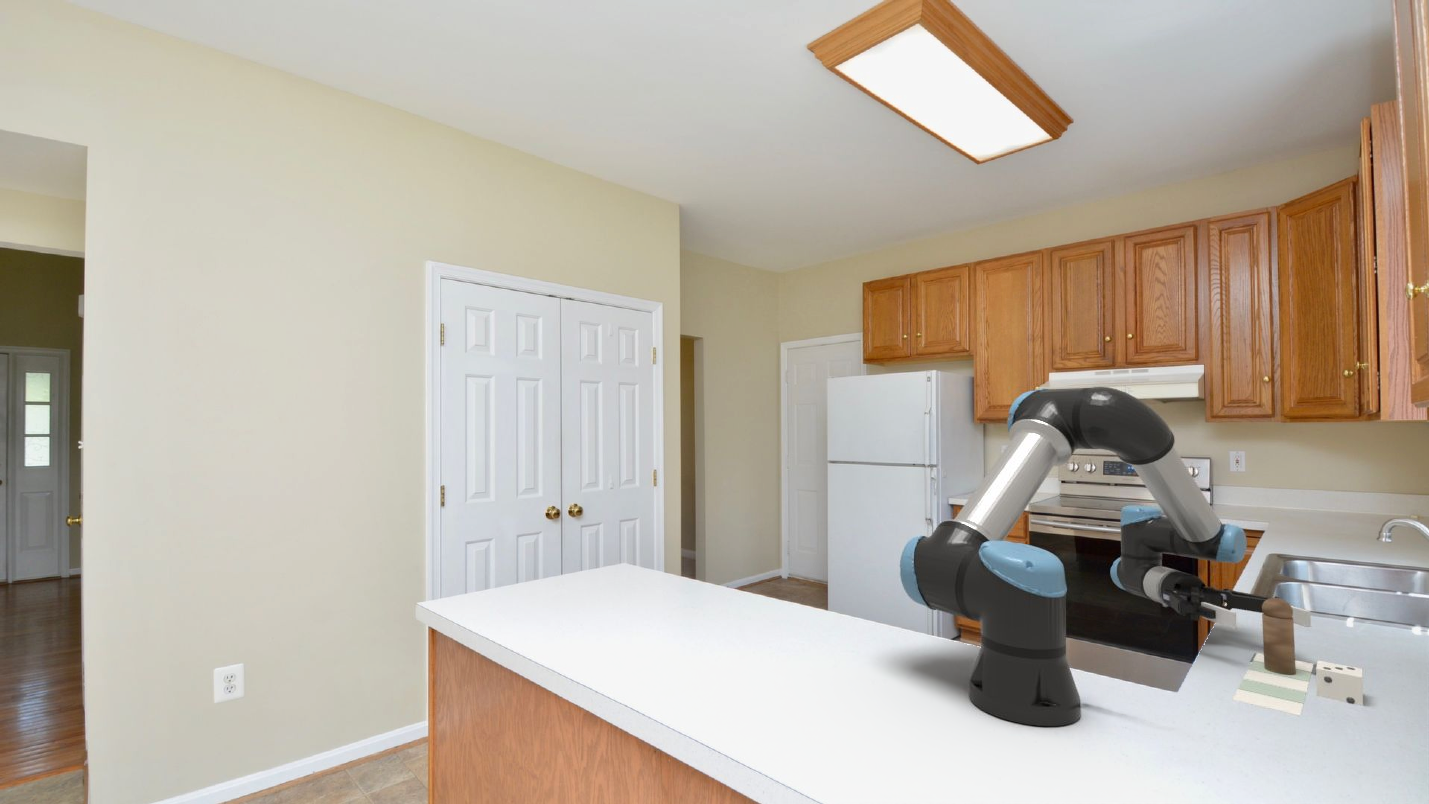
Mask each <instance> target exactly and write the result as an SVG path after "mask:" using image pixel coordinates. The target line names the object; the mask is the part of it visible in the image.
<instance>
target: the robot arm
mask: <svg viewBox="0 0 1429 804" xmlns="http://www.w3.org/2000/svg"><path fill="white" fill-rule="evenodd" d="M1008 415H1009V417H1007V419H1006V420H1007V430H1008V436H1009V440H1010V442H1009V443H1008V445H1007V446H1006V447H1005V449H1004V450H1003V452H1002V453H1001V454H1000V455H999V457H998V459H997V460H996V462H994V464H993V465H992V467H991V468H990V469H989V471H988V473H987V474H986V475H985V476H984V478H983V479H982V480H981V482H980V483H979V484H978V486H977V488H976V489H975V490H974V492H972V494H971V495H970V497H969V498H968V500H967V501H966V503H965V504H964V505H963V507H962V508H961V509H960V511H959V512H958V513H957V515H956V516H955V518H954V519H951V518H950V519H944V520H943V521H941V522H940V523H939V524H938V526H937V527H936V528H935V530H933V532H932V533H931V535H930V536H925V535H919V536H915V537H911V539H910V540H908V541H907V543H906V544H905V545H904V548H903V550H902V552H901V556H900V561H899V568H900V570H899V571H900V572H899V577H900V580H901V584H902V587H903V589H904V592H905V593H906V594H907V595H906V596H908V597H909V599H911V600H912V601H913V602H915V603H917V604H918V605H921V606H925V608H926V607H927V608H928V609H929V610H932V611H940V612H944V613H948V614H950V615H954V616H957V617H960V618H963V619H967V620H970V621H972V622H973V621H974V622H977V623H980V649H979V651H978V655H977V658H976V661H975V663H974V666H973V668H972V672H971V675H970V677H969V681H968V682H969V683H968V685H969V686H968V687H969V688H968V690H969V693H968V694H969V695H968V697H969V699H970V701H971V702H972V703H973V704H974V705H975V706H976V707H978V708H979V710H982V711H984V712H985V713H988V714H990V715H993V716H995V717H997V718H1000V719H1004V720H1007V721H1010V722H1015V723H1020V724H1023V725H1024V724H1025V725H1031V726H1039V727H1041V726H1043V727H1055V726H1056V727H1058V726H1066V725H1070V724H1072V723H1075V722H1077V721H1078V720H1080V717H1081V715H1082V713H1081V712H1082V710H1081V709H1082V708H1081V704H1082V703H1081V696H1080V694H1079V690H1078V689H1077V685H1076V682H1075V679H1074V676H1073V674H1072V670H1071V669H1070V666H1069V662H1068V660H1067V617H1066V616H1067V610H1066V609H1067V604H1066V603H1067V600H1066V599H1067V591H1068V587H1067V582H1066V574H1065V567H1064V564H1063V562H1062V561H1061V560H1060V558H1059V557H1058V556H1057V555H1055V554H1054V553H1052V552H1050V551H1048V550H1046V549H1043V548H1041V547H1037V546H1033V545H1031V544H1030V545H1029V544H1025V543H1022V542H1021V543H1020V542H1012V541H1009V540H1006V538H1007V537H1008V535H1009V534H1010V532H1011V531H1012V529H1013V528H1014V526H1015V525H1016V523H1017V522H1018V520H1019V519H1020V517H1021V516H1022V514H1023V513H1024V511H1025V510H1026V508H1027V507H1028V505H1029V504H1030V503H1031V500H1032V499H1033V498H1034V496H1035V495H1036V493H1038V491H1039V489H1040V487H1041V486H1042V484H1043V483H1044V481H1045V480H1046V478H1047V477H1048V476H1049V473H1050V472H1051V471H1052V470H1053V467H1058V466H1063V465H1065V464H1066V463H1067V462H1069V460H1070V459H1071V457H1072V455H1073V454H1074V453H1075V451H1076V450H1104V451H1108V452H1111V453H1114V454H1116V456H1117V457H1118V458H1119V460H1120V461H1122V462H1123V463H1124V464H1127V465H1129V466H1131V467H1132V468H1133V470H1134V471H1135V473H1136V474H1137V475H1138V477H1139V479H1140V480H1141V481H1142V483H1143V484H1144V485H1145V487H1146V489H1147V490H1148V492H1149V493H1150V494H1151V496H1152V497H1153V499H1154V501H1155V502H1156V503H1157V505H1158V507H1156V506H1149V505H1135V504H1134V505H1126V506H1123V507H1122V509H1121V511H1120V524H1119V527H1120V548H1121V549H1120V557H1118V558H1117V559H1116V560H1114V561H1113V563H1112V566H1111V567H1110V570H1109V571H1110V574H1109V575H1110V577H1111V579H1112V582H1113V583H1114V584H1115V585H1116V587H1118V588H1120V589H1121V590H1124V591H1126V592H1128V593H1130V594H1132V595H1135V596H1139V597H1141V598H1145V599H1147V600H1150V601H1154V602H1156V603H1159V604H1162V607H1164V608H1168V607H1170V608H1172V609H1174V611H1175V612H1176V613H1177V614H1179V615H1181V616H1182V617H1183V616H1188V614H1191V615H1190V616H1191V620H1192V621H1197V622H1198V621H1201V619H1200V616H1201V618H1202V619H1205V620H1208V621H1210V622H1214V623H1216V624H1218V625H1222V626H1225V627H1227V628H1230V629H1237V612H1236V611H1234V610H1233V609H1235V610H1242V611H1248V612H1253V613H1254V612H1255V613H1260V614H1263V611H1262V605H1263V603H1264V601H1266V600H1267V599H1270V598H1271V597H1269V596H1265V595H1257V594H1252V593H1247V592H1242V591H1236V590H1232V589H1229V588H1223V589H1218V588H1215V587H1211V586H1207V585H1206V584H1205V583H1204V581H1203V580H1202V579H1201V578H1200V577H1198V576H1196V575H1194V574H1190V573H1187V572H1184V571H1180V570H1177V569H1174V568H1170V567H1167V566H1163V561H1162V560H1163V554H1167V555H1174V556H1180V557H1186V558H1187V557H1188V558H1192V559H1193V558H1194V559H1197V560H1198V559H1199V560H1205V561H1211V562H1216V563H1227V564H1228V563H1230V564H1237V563H1240V562H1241V561H1243V559H1244V557H1245V556H1246V552H1247V547H1248V543H1247V535H1246V532H1245V530H1244V529H1243V528H1242V527H1240V526H1239V525H1235V524H1234V525H1233V524H1230V523H1222V522H1221V520H1220V518H1219V517H1218V516H1217V513H1216V512H1215V510H1214V509H1213V508H1212V506H1211V504H1210V503H1209V501H1208V500H1207V498H1206V496H1205V495H1204V493H1203V492H1202V490H1201V489H1200V487H1199V485H1198V484H1197V482H1196V480H1195V479H1194V477H1193V475H1192V474H1191V472H1190V471H1189V469H1188V467H1187V466H1186V465H1185V463H1184V461H1183V459H1182V458H1181V457H1180V455H1179V454H1178V452H1177V450H1176V449H1175V444H1176V437H1175V435H1174V432H1173V431H1172V430H1171V428H1170V427H1169V426H1168V424H1167V422H1166V421H1165V419H1163V418H1162V416H1161V415H1159V413H1157V412H1156V411H1155V410H1154V409H1153V408H1151V407H1150V406H1149V405H1148V404H1146V403H1145V402H1143V401H1142V400H1140V399H1138V398H1137V397H1135V396H1134V395H1131V394H1130V393H1127V392H1125V391H1122V390H1120V389H1117V388H1112V387H1107V386H1093V387H1075V388H1074V387H1072V388H1071V387H1069V388H1040V389H1036V390H1030V391H1026V392H1023V393H1022V394H1020V395H1019V396H1018V397H1016V398H1015V400H1014V401H1013V402H1012V404H1011V406H1010V408H1009V410H1008ZM1159 507H1160V508H1159ZM1162 512H1163V513H1164V515H1165V516H1166V517H1163V514H1162ZM1273 598H1280V597H1279V596H1274V597H1273ZM1283 600H1284V599H1283ZM1284 601H1286V600H1284ZM1224 603H1225V604H1226V605H1223V604H1224ZM1290 606H1291V607H1292V610H1293V616H1292V617H1293V623H1294V624H1296V625H1298V626H1301V627H1304V628H1311V626H1312V624H1311V623H1312V622H1311V621H1312V620H1311V618H1312V617H1311V610H1306V609H1304V608H1301V607H1296V606H1293V605H1290Z"/></svg>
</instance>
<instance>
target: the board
mask: <svg viewBox="0 0 1429 804" xmlns="http://www.w3.org/2000/svg"><path fill="white" fill-rule="evenodd" d="M1249 663H1250V666H1249V667H1248V669H1247V672H1246V673H1245V675H1244V677H1243V679H1242V681H1241V683H1240V684H1239V686H1238V688H1237V690H1236V691H1235V694H1234V695H1233V698H1232V701H1235V702H1239V703H1244V704H1249V705H1251V706H1255V707H1256V706H1257V707H1262V708H1266V709H1269V710H1273V711H1278V712H1281V713H1287V714H1290V715H1295V716H1298V717H1301V715H1302V711H1303V707H1304V703H1305V700H1306V699H1305V698H1306V695H1307V691H1308V689H1309V688H1308V687H1309V684H1310V680H1311V676H1312V675H1313V676H1316V667H1317V664H1314V663H1313V662H1312V663H1311V662H1306V661H1302V660H1296V659H1295V667H1296V674H1294V675H1286V674H1279V673H1275V672H1271V671H1268V670H1266V669H1265V668H1264V653H1261V652H1260V653H1259V652H1254V653H1253V655H1252V657H1251V658H1250V661H1249Z"/></svg>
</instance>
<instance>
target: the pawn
mask: <svg viewBox="0 0 1429 804" xmlns="http://www.w3.org/2000/svg"><path fill="white" fill-rule="evenodd" d="M1291 606H1292V605H1291V604H1290V603H1289V602H1287V601H1286V600H1285V601H1284V599H1282V598H1280V597H1279V598H1274V597H1270V599H1267V600H1266V601H1264V603H1263V605H1262V611H1263V613H1261V618H1262V619H1261V620H1262V622H1261V623H1262V640H1263V641H1262V642H1263V654H1264V668H1265V669H1266V670H1268V671H1271V672H1275V673H1279V674H1286V675H1294V674H1296V667H1295V660H1296V653H1295V652H1296V651H1295V650H1296V649H1295V628H1294V626H1295V625H1294V624H1295V623H1293V617H1292V616H1293V610H1292V607H1291Z"/></svg>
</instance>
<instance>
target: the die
mask: <svg viewBox="0 0 1429 804" xmlns="http://www.w3.org/2000/svg"><path fill="white" fill-rule="evenodd" d="M1316 665H1317V667H1316V675H1315V676H1316V697H1320V698H1324V699H1330V700H1334V701H1338V702H1343V703H1348V704H1351V705H1357V706H1362V707H1363V706H1364V693H1363V692H1364V690H1363V689H1364V688H1363V685H1364V684H1363V669H1362V668H1359V667H1356V666H1355V667H1354V666H1349V665H1345V664H1344V665H1343V664H1337V663H1332V662H1328V661H1323V660H1322V661H1321V660H1317V662H1316Z"/></svg>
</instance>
